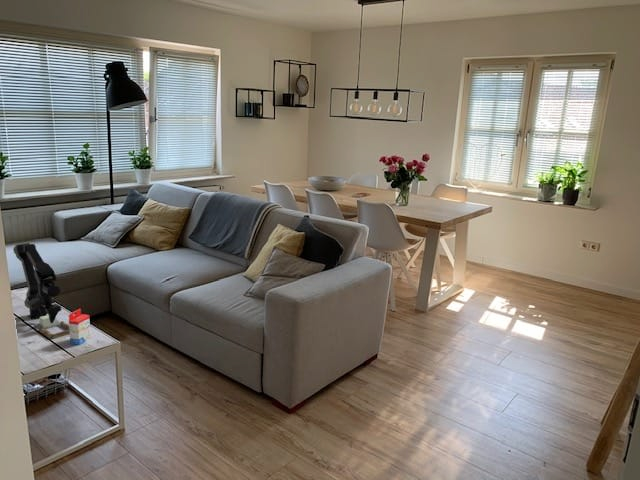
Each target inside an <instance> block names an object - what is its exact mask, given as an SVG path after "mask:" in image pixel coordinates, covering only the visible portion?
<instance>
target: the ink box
mask: <svg viewBox="0 0 640 480" xmlns="http://www.w3.org/2000/svg"><path fill="white" fill-rule="evenodd" d="M90 323H91V322H90V315H89V314H83V313H82V309H81V308H78V309H76V310H75V311H72V312H71V313H69V314H68V325H69V331H70V334H69V341H70V344H71V345H78V346H80V345H82V344H83V343H85V342H86V341H88V340H89V339H91V324H90Z"/></svg>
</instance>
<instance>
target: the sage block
mask: <svg viewBox="0 0 640 480" xmlns="http://www.w3.org/2000/svg"><path fill="white" fill-rule="evenodd" d="M56 320H57V317H56V318H55V320H54V322H53V323H50V320H49V316H48V314H47V315H46V316H42V317H40V318H39V323H40V325H42V326H43V327H46V326H49V325H53V324H56Z"/></svg>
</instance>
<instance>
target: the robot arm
mask: <svg viewBox="0 0 640 480" xmlns="http://www.w3.org/2000/svg"><path fill="white" fill-rule="evenodd" d="M13 254H15V258H16V259H18V261H20V262H21V266H22V269H23V272H24V273H23V274H24V277H25V282H26V284H27V285H26V286H27V291H26V294H25V296H26V297H25V299H24V302H23V303H24V306H25V307H26V308H27V309H29V314H27V317H28V318H30V319H31V320H36V319H40V317H42V316H46V315H48V316H49V320H50V323H53V322H54V320H55V318H56V319H57V315H58V314H59V312H61V311H62V306H61V305H59V304H57V303H56V302H55V300H54V299H53V298H56V297H57V296H58V295H59V294H60V292H61V289H60V287H59V286H58V285H56V282H57V281H58V280H57V275H56V273H55V271H54V269H53V268H52V267H51V266H50V265H49V263H47V262H46V261H45V262H44V260H43V258H42V257H41V255H40V253H39V252H38V250H37V247H36V245H35V243H30V242H25V243H19V244H15V245H14V247H13Z"/></svg>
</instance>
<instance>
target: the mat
mask: <svg viewBox="0 0 640 480" xmlns="http://www.w3.org/2000/svg"><path fill="white" fill-rule="evenodd" d="M34 326H35V327H36V328H37V329H39V330H40V328H39V327H43V326H42V325H40V322H39V323H35V324H34ZM58 326H59V327H60V326H61V321H59V320H57V319H56V324H53V325H49V326H46V327H43V328H44V329H46V330H47V329H48V330H49V329H51V328H54V327H58Z"/></svg>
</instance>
